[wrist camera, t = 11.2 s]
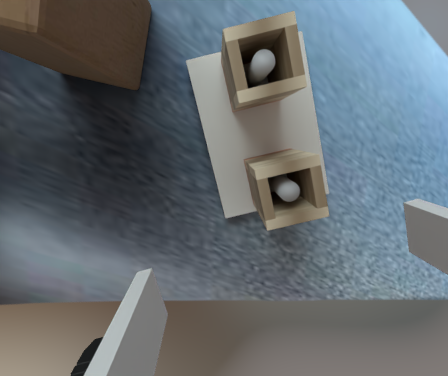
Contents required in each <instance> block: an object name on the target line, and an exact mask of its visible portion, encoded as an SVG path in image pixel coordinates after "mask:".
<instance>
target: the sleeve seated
mask: <svg viewBox="0 0 448 376" xmlns="http://www.w3.org/2000/svg"><path fill="white" fill-rule="evenodd" d="M262 49H266V50H269V51H271V52H272V53H273V55H274V57H275V66H274V68H273V69H272V71H271V72H270V73H269V74H268V75H267V78H268V83H269V84H265V85H261V86H257V87H253V88H249V89H248V86H247V82H246V77H245V72H244V68H243V65H245V64H249V63H251V61H252V59H253V57H254V55H255V54H256V52H258V51H259V50H262ZM221 64H222V68H223V73H224V77H225V82H226V86H227V90H228V95H229V99H230V104H231V108H232V112H236V111H240V110H244V109H248V108H252V107H256V106H260V105H264V104H268V103H272V102H276V101H280V100H282V99H284V98H286V97H288V96H290V95H292V94H294V93H296V92H298V91H299V90H301V89H303V88H305V87H307V82H306V77H305V71H304V65H303V59H302V53H301V47H300V41H299V35H298V29H297V23H296V17H295V12H294V11H292V12H288V13H284V14H280V15H276V16H273V17H269V18H265V19H261V20H257V21H253V22H249V23H245V24H241V25H237V26H233V27H229V28H225V29H223V35H222V51H221Z"/></svg>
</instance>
